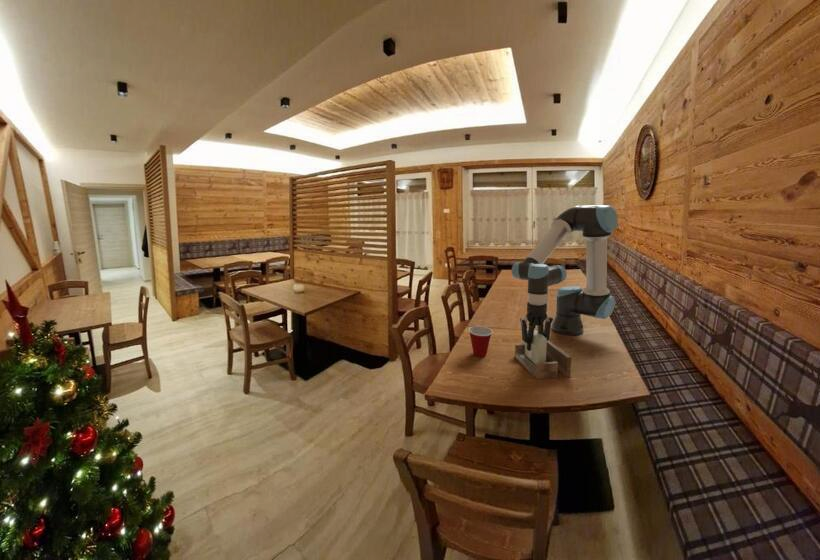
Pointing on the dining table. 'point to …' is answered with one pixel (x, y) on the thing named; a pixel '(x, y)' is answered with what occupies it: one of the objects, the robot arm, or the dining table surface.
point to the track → (548, 369)
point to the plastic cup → (480, 339)
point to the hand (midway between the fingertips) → (534, 356)
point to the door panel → (537, 348)
